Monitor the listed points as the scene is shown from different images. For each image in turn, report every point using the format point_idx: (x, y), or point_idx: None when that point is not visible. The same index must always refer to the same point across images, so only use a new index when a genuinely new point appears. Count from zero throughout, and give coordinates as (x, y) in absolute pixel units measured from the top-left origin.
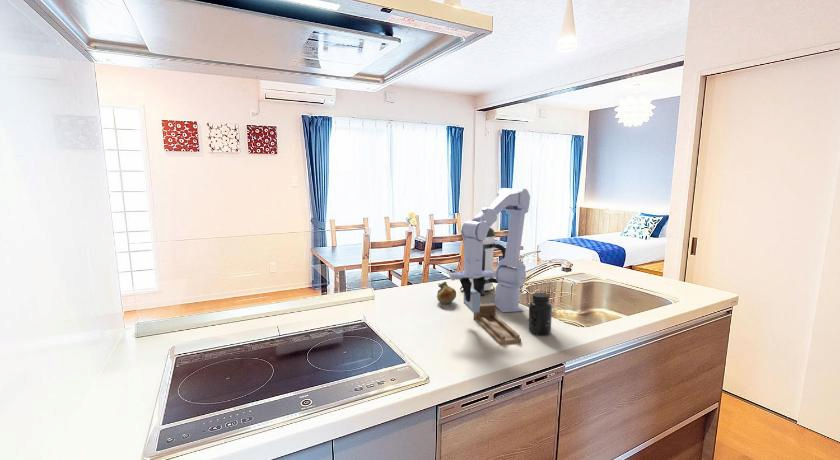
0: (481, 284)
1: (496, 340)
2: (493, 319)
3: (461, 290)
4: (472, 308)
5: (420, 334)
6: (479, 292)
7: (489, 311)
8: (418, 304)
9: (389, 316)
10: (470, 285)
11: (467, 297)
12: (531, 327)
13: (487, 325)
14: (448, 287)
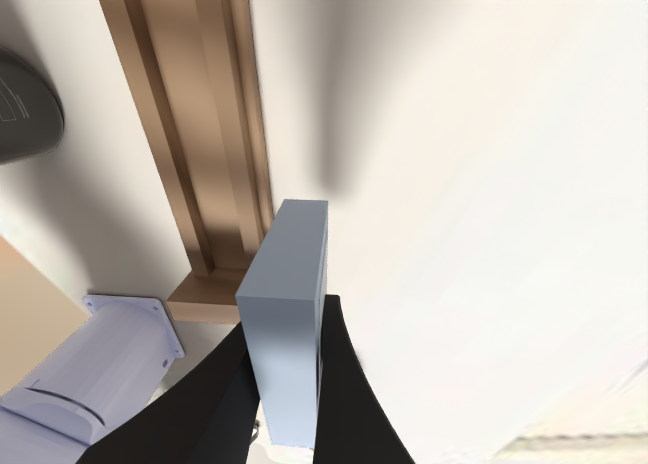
0: (158, 437)
1: (249, 21)
2: (207, 242)
3: (255, 428)
4: (326, 230)
5: (572, 197)
6: (228, 343)
7: (209, 283)
8: (414, 394)
9: (561, 353)
10: (327, 446)
11: (343, 321)
12: (19, 88)
13: (252, 178)
14: None
